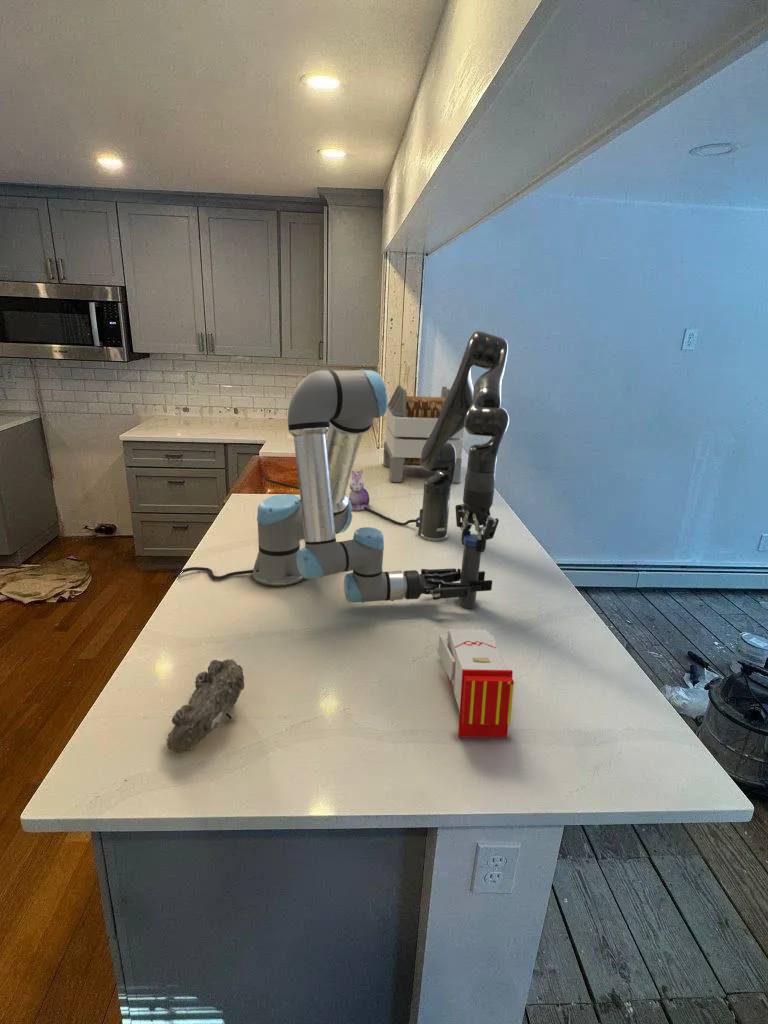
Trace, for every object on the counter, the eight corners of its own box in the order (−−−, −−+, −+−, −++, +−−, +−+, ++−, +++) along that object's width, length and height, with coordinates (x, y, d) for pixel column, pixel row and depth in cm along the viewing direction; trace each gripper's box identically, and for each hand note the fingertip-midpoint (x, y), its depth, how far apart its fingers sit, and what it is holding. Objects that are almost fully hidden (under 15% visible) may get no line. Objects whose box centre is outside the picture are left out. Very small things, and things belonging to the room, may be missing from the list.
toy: (488, 613, 130) (523, 677, 101) (484, 667, 133) (517, 744, 104) (435, 612, 130) (455, 676, 101) (432, 666, 133) (451, 743, 103)
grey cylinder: (454, 602, 154) (460, 538, 148) (465, 598, 157) (472, 534, 151) (467, 609, 151) (474, 544, 145) (478, 604, 154) (486, 540, 148)
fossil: (192, 660, 117) (244, 628, 112) (224, 691, 120) (276, 661, 115) (142, 746, 98) (202, 712, 93) (182, 779, 101) (242, 748, 96)
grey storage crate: (382, 463, 289) (386, 382, 275) (445, 464, 293) (451, 384, 279) (390, 482, 257) (394, 392, 243) (460, 483, 261) (468, 394, 247)
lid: (460, 543, 148) (460, 537, 147) (469, 538, 151) (469, 532, 151) (477, 549, 145) (477, 542, 144) (485, 543, 149) (486, 537, 148)
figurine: (353, 512, 218) (354, 475, 213) (342, 504, 226) (343, 468, 221) (375, 509, 222) (376, 473, 217) (363, 501, 230) (364, 466, 225)
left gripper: (395, 582, 158) (475, 578, 162) (410, 614, 142) (498, 609, 146) (397, 558, 155) (477, 554, 160) (412, 588, 139) (501, 583, 144)
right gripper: (510, 492, 139) (502, 555, 145) (470, 477, 150) (464, 536, 156) (488, 496, 135) (481, 561, 141) (449, 480, 146) (443, 541, 152)
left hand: (487, 580), depth 153 cm, fingers closed on grey cylinder, 5 cm apart
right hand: (472, 547), depth 149 cm, fingers closed on lid, 5 cm apart
